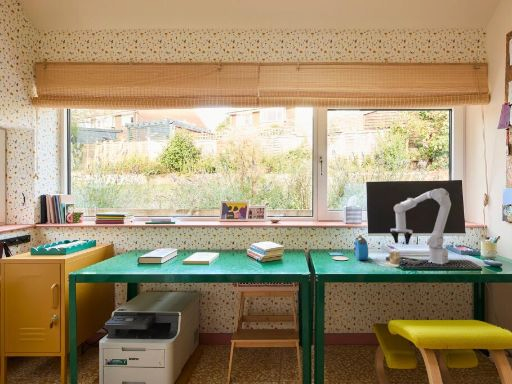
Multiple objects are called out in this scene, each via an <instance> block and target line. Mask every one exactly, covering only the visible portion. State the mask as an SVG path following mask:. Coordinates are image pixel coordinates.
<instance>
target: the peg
mask: <svg viewBox="0 0 512 384" xmlns="http://www.w3.org/2000/svg"><path fill="white" fill-rule="evenodd" d="M388 254H389V256H390V261H389V262H390V264H395V265H396V264H398V263H399V262H400V256H401V255H400V251H396V250H392V251H389V253H388Z"/></svg>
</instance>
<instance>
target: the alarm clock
mask: <svg viewBox="0 0 512 384" xmlns="http://www.w3.org/2000/svg"><path fill="white" fill-rule="evenodd" d="M354 253H355V258H356V260H358V261H368V258H369V245H368V241H367V239H365V238H364V237H363V236H361V235H358V236H356V237H355V241H354Z"/></svg>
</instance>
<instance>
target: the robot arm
mask: <svg viewBox="0 0 512 384" xmlns="http://www.w3.org/2000/svg"><path fill="white" fill-rule="evenodd" d="M427 199H433V200H434V201H436V202H437V203H438V205H439V210H438V214H437V217H436V221H435V223H434V228H433V231H432V232H431V234H430V236H429V237H428V239H427V241H426V242H427V245H428V251H429V252H428V253H429V260H427V261H428V262H427V263H431V262H432V264H437V265H444V264H447V263H449V262H450V261H449V251H448V249H447V248H444V247H443V243H444V241H445V240H444V230H445V227H446V223H447V220H448V216H449V213H450V210H451V206H452V202H451V199H450V193H449V192H448V191H447V189H445V188H443V187H440V188H434V189H432V190H429V191H426V192H424V193H422V194H420V195H419V196H417V197H414V198H413V197H407V198H406V200H404V201H400V202H399V203H396V204H395V205H394V206H393V211H394V212H395V225H396V226H395V228H390V234H391V236H392V238H393V240H394V243H395V244H398V243H399V234H400V233H403V235H404V240H405V245H407V246H408V245H409V244H410V240H411V237H412V236H413V229H408V228H407V221H406V211H409V210H410V209H413V208H414V207H417V205H418V203H420V202H424V201H426V200H427Z"/></svg>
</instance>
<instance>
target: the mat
mask: <svg viewBox="0 0 512 384" xmlns="http://www.w3.org/2000/svg"><path fill="white" fill-rule="evenodd" d="M383 265H385V266H390V267H396V268H397V267H400V266H399V265H398V264H396V265H395V264H390V261H388V262H385V263H383Z"/></svg>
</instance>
